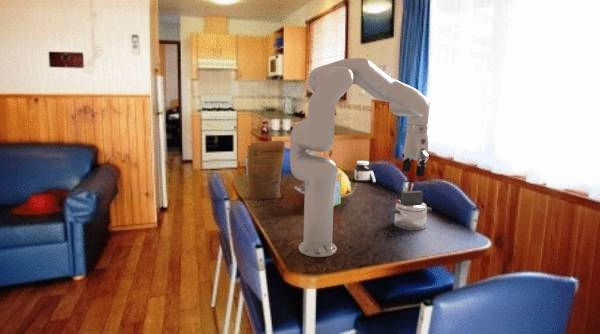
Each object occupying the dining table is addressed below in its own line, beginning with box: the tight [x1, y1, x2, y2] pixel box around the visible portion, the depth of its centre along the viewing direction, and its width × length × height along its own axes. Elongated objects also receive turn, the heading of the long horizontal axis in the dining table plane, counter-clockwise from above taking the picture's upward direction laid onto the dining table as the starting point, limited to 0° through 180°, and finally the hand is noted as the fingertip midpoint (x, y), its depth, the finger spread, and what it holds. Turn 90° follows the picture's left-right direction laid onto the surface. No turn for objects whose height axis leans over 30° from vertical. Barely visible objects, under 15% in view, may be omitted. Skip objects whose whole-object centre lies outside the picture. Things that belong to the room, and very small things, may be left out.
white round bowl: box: [395, 190, 428, 211], centre depth 160 cm, size 12×12×6 cm
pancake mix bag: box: [246, 140, 286, 201], centre depth 194 cm, size 7×19×28 cm, turn 112°
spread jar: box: [353, 160, 377, 183], centre depth 237 cm, size 12×11×12 cm
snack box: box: [304, 172, 342, 207], centre depth 182 cm, size 21×6×15 cm, turn 141°
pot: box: [389, 206, 433, 231], centre depth 162 cm, size 12×17×8 cm
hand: (412, 173), depth 158 cm, fingers open, 9 cm apart
